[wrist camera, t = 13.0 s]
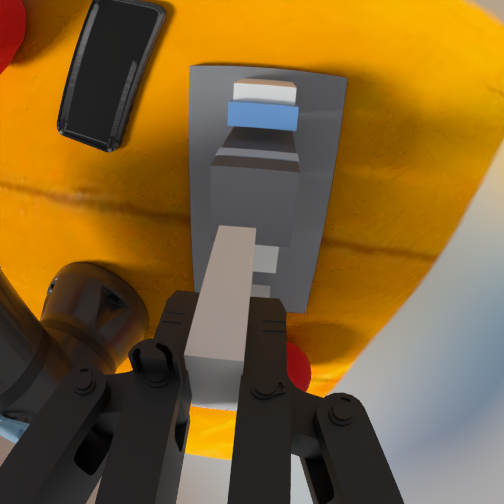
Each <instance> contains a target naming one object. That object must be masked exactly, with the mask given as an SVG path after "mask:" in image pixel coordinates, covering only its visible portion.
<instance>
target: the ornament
mask: <svg viewBox="0 0 504 504" xmlns="http://www.w3.org/2000/svg"><path fill="white" fill-rule="evenodd" d="M287 371H288V376H289V378H290V380H291V381H292V383H293V384H294V385H295V386H296V387H298V388H299V389H300V390H302V391H304V392H306V390H307V389H308V387H309V384H310V380H311V368H310V363H309V361H308V359H307V357H306V355H305V354H304V353H303V352H302V351H301V349H300V348H298V347H297V346H295V345H294V344H292V343H290V342H287Z"/></svg>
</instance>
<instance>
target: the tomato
mask: <svg viewBox="0 0 504 504" xmlns="http://www.w3.org/2000/svg"><path fill="white" fill-rule="evenodd" d="M25 31H26V9H25V7H24V4H23V2H22V0H0V74H1V73H2V72H3V71H4V70H5V69H6V68H7V66H8V65H9V63H10V62H11V60H12V59H13V57H14V56H15V54H16V52H17V50H18V48H19V47H20V45H21V43H22V41H23V39H24V37H25Z"/></svg>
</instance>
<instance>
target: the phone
mask: <svg viewBox="0 0 504 504" xmlns="http://www.w3.org/2000/svg"><path fill="white" fill-rule="evenodd" d="M165 18H166V11H165V9H164V8H163V7H162V6H159V5H157V4H153V3H149V2H144V1H140V0H93V1H92V3H91V5H90V8H89V10H88V13H87V16H86V18H85V21H84V24H83V27H82V30H81V33H80V36H79V39H78V42H77V45H76V48H75V51H74V55H73V58H72V61H71V65H70V68H69V72H68V76H67V80H66V84H65V88H64V92H63V96H62V101H61V105H60V110H59V115H58V120H57V129H58V131H59V133H60V134H61V135H63V136H65V137H68V138H71V139H73V140H76V141H79V142H81V143H84V144H87V145H89V146H92V147H95V148H97V149H100V150H102V151H105V152H113V151H114V150H116V149H117V148H118V147H119V146H120V145H121V143H122V139H123V136H124V133H125V129H126V125H127V123H128V120H129V115H130V113H131V110H132V107H133V103H134V99H135V96H136V93H137V90H138V88H139V85H140V82H141V79H142V76H143V73H144V71H145V68H146V65H147V63H148V60H149V57H150V55H151V52H152V50H153V47H154V45H155V42H156V40H157V37H158V35H159V32H160V30H161V28H162V25H163V23H164V21H165Z"/></svg>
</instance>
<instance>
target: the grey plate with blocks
mask: <svg viewBox="0 0 504 504" xmlns="http://www.w3.org/2000/svg"><path fill="white" fill-rule="evenodd" d="M346 86H347V78H345V77H339V76H333V75H327V74H320V73H313V72H305V71H296V70H287V69H276V68H263V67H247V66H213V65H200V66H190V76H189V184H190V217H191V240H192V259H193V276H194V291H195V292H198V293H200V292H201V288H202V284H203V281H204V277H205V273H206V270H207V266H208V263H209V259H210V256H211V252H212V249H213V245H214V242H215V241H211V234H210V173H211V164H212V162H213V160H214V159H215V157H216V153H217V151H218V150H219V148H220V147H222V145H223V144H224V142H225V140H226V139H227V137H228V135H229V134H230V132H231V130H232V129H233V127H234V126H240V127H255V128H268V129H279V130H289V131H292V133H293V138H294V143H295V148H296V153H297V154H298V158H299V169H300V178H299V186H298V193H297V201H296V208H295V215H294V222H293V229H292V236H291V243H290V248H287V247H276V246H265V245H255V250H254V263H253V275H252V287H251V297H264V298H277V299H280V301H281V302H282V304H283V306H284V308H285V309H286V312H291V313H305V312H306V308H307V304H308V299H309V295H310V291H311V286H312V282H313V277H314V273H315V268H316V263H317V259H318V254H319V249H320V244H321V239H322V234H323V229H324V224H325V219H326V214H327V208H328V203H329V197H330V192H331V186H332V180H333V175H334V169H335V163H336V156H337V150H338V144H339V137H340V130H341V124H342V116H343V109H344V102H345V94H346Z"/></svg>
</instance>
